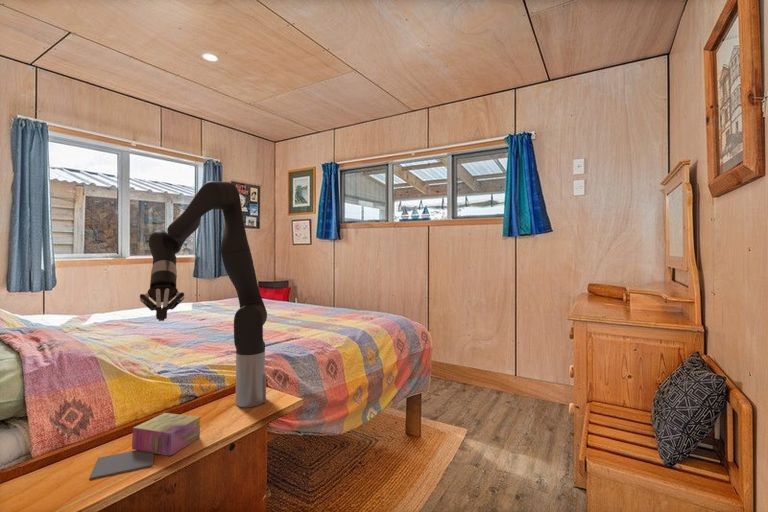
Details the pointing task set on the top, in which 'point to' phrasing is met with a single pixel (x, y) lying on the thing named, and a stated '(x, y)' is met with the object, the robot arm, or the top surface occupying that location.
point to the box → (166, 433)
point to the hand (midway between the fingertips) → (161, 319)
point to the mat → (121, 463)
